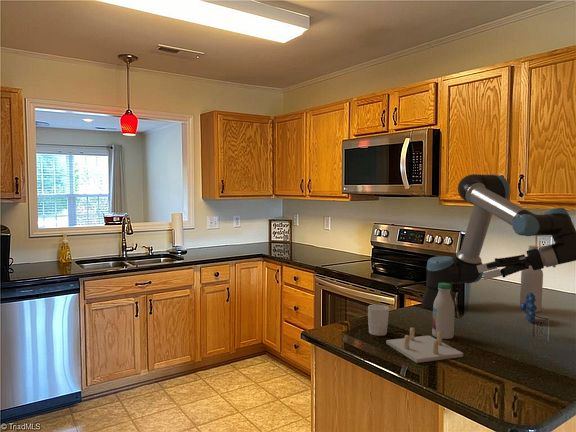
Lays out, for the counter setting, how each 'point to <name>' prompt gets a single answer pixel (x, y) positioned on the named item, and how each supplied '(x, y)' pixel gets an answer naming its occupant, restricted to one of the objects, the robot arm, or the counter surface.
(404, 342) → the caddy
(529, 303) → the grapes
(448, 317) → the milk bottle
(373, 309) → the white cup
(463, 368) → the counter surface
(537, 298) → the alcohol
